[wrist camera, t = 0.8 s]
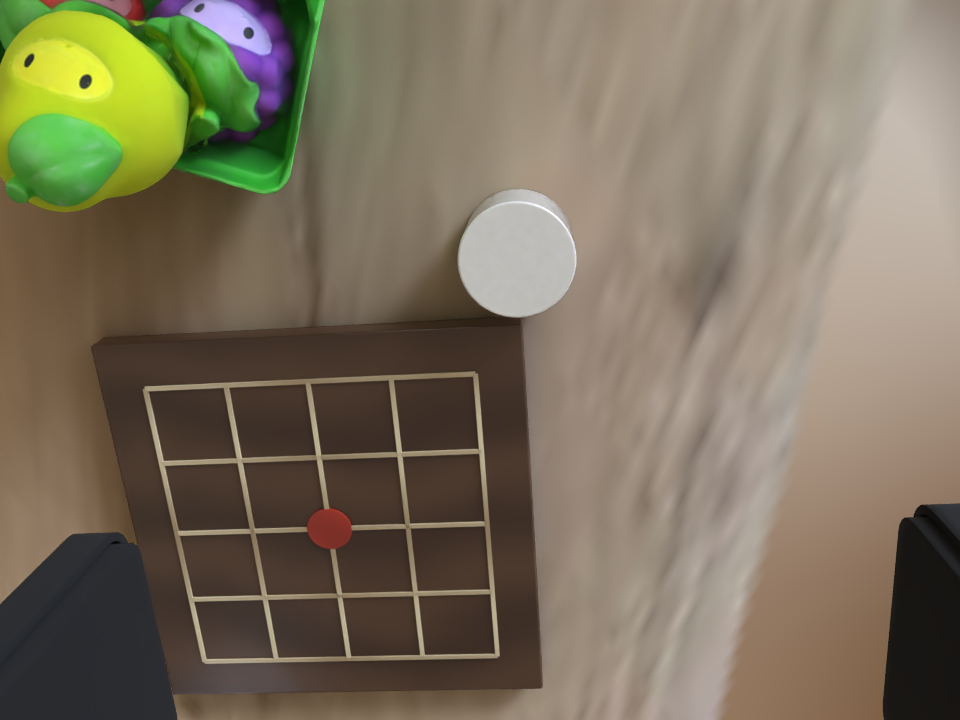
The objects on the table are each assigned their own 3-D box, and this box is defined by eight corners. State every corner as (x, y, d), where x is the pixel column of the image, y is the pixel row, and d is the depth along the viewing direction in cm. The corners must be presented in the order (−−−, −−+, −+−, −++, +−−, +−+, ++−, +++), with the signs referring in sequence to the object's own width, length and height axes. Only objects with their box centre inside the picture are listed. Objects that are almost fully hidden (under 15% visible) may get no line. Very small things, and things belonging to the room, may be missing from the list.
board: (103, 336, 37) (88, 347, 36) (522, 315, 35) (521, 325, 34) (182, 678, 43) (171, 697, 42) (542, 671, 41) (542, 691, 40)
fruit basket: (362, -23, 31) (273, -61, 21) (312, 209, 34) (213, 280, 24) (56, -116, 31) (-193, -203, 20) (33, 128, 34) (-194, 163, 23)
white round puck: (459, 192, 34) (452, 205, 31) (571, 185, 33) (574, 197, 31) (467, 299, 35) (461, 321, 32) (575, 294, 35) (578, 315, 32)
